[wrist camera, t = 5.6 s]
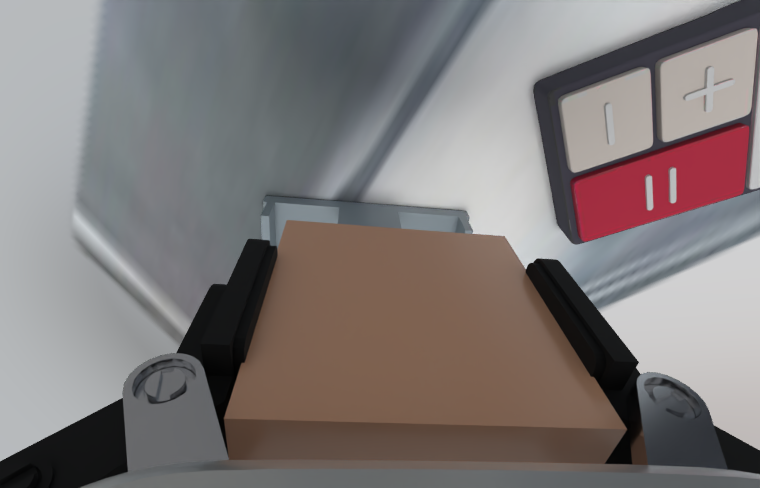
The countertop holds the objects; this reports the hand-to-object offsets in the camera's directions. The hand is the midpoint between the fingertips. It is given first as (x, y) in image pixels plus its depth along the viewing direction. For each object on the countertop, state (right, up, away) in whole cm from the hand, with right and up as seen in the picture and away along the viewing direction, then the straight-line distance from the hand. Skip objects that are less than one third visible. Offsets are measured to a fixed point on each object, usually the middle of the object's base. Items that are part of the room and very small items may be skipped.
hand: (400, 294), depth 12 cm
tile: (0, +1, +2) cm, 2 cm away
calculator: (+18, +10, +15) cm, 25 cm away
